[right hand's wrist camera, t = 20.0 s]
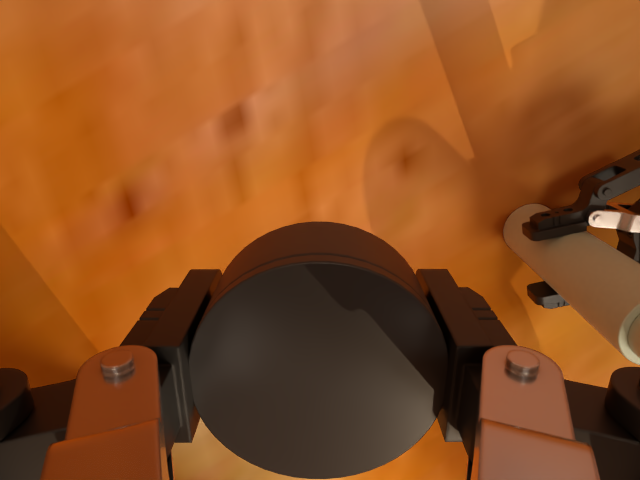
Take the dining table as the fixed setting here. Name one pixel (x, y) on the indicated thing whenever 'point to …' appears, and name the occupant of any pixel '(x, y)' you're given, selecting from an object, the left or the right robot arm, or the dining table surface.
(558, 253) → the jar
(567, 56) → the dining table surface
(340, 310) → the lid
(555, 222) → the left robot arm
